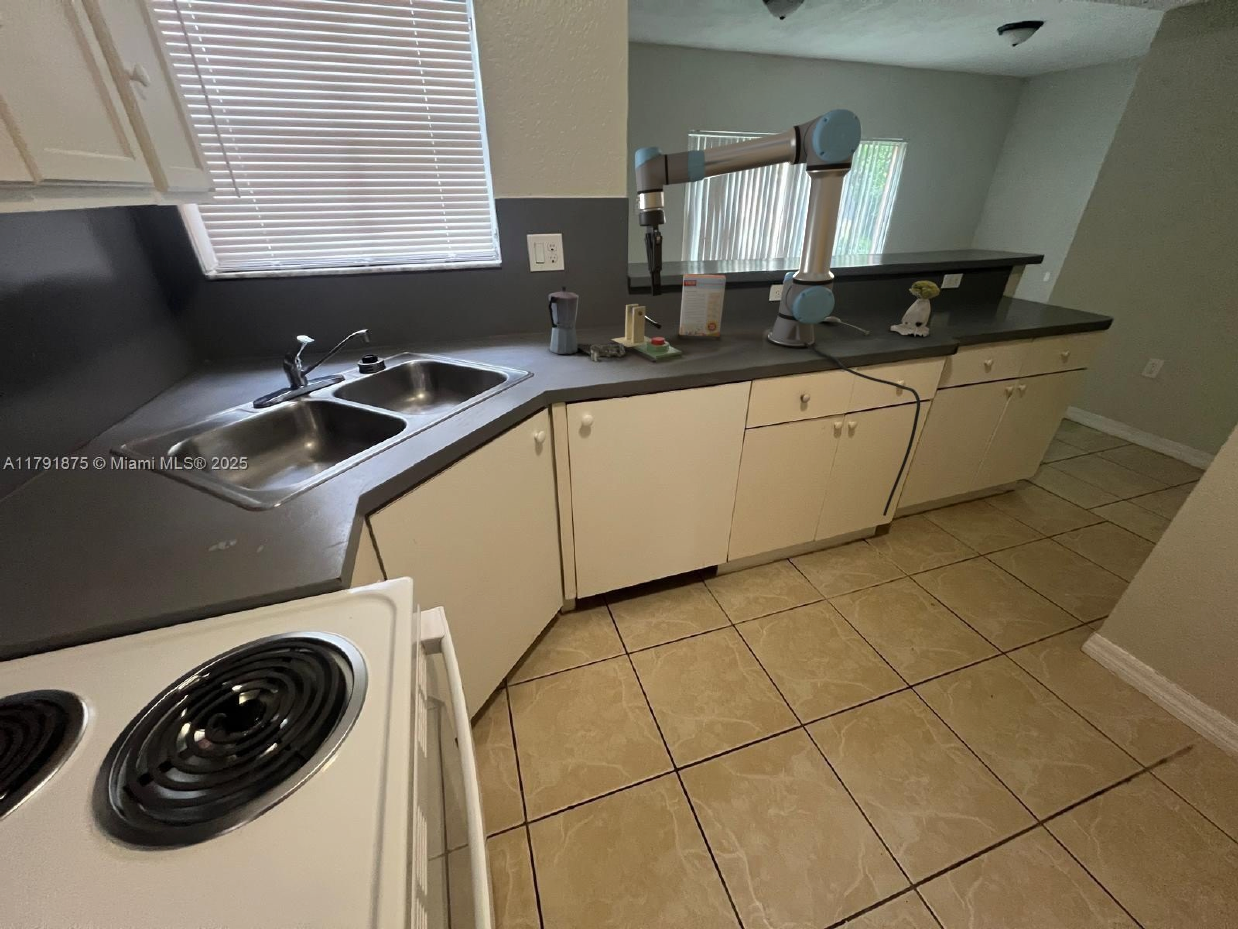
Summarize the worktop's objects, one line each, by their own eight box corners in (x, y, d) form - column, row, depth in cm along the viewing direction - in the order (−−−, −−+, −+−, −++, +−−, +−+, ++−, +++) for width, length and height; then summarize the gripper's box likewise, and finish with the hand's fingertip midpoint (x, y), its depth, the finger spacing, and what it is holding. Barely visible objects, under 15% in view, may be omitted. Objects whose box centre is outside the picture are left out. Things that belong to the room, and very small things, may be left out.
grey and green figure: (908, 326, 191) (924, 277, 181) (936, 335, 180) (954, 283, 171) (884, 328, 187) (899, 278, 178) (911, 337, 177) (928, 284, 168)
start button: (666, 344, 152) (667, 339, 151) (656, 346, 150) (656, 341, 150) (659, 341, 155) (659, 336, 154) (649, 343, 153) (649, 337, 152)
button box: (681, 358, 153) (682, 345, 151) (655, 363, 148) (656, 350, 146) (658, 347, 161) (659, 336, 159) (633, 352, 157) (634, 340, 155)
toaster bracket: (640, 338, 170) (642, 300, 164) (657, 345, 163) (659, 307, 157) (611, 343, 165) (611, 304, 158) (627, 351, 158) (628, 311, 151)
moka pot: (586, 346, 161) (585, 283, 151) (567, 360, 149) (565, 292, 138) (560, 343, 164) (558, 281, 154) (539, 356, 151) (535, 290, 141)
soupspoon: (828, 322, 197) (816, 324, 195) (830, 313, 196) (817, 315, 193) (873, 334, 180) (860, 336, 177) (875, 325, 178) (862, 327, 176)
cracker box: (717, 335, 175) (725, 274, 164) (719, 340, 170) (726, 277, 159) (678, 334, 176) (683, 272, 165) (678, 338, 171) (684, 276, 160)
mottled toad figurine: (590, 361, 148) (590, 348, 146) (590, 354, 155) (589, 341, 153) (625, 361, 149) (625, 348, 147) (623, 353, 155) (623, 341, 153)
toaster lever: (650, 327, 168) (653, 320, 167) (659, 330, 164) (662, 324, 164) (626, 311, 159) (630, 304, 159) (635, 314, 156) (638, 307, 155)
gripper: (634, 213, 147) (640, 295, 157) (643, 210, 135) (649, 298, 145) (658, 210, 148) (663, 292, 157) (669, 207, 136) (674, 295, 146)
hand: (656, 295), depth 151 cm, fingers closed
